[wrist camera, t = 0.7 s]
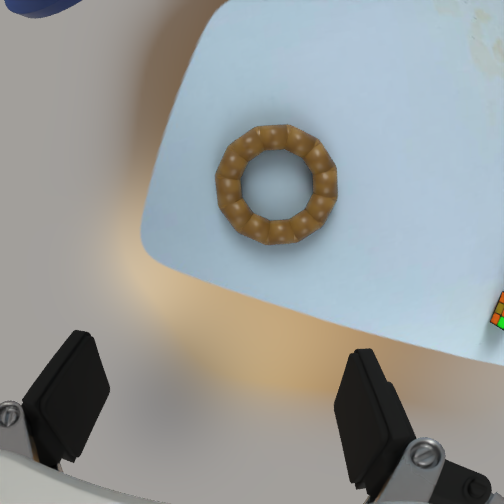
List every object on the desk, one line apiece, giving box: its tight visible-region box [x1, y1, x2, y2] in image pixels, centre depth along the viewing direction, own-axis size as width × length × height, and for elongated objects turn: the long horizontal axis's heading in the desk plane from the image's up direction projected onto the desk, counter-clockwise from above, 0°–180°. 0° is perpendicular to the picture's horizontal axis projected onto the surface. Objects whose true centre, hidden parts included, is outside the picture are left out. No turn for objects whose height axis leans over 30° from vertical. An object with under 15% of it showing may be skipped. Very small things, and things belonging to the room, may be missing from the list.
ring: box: [215, 124, 338, 245], centre depth 21 cm, size 9×9×2 cm
